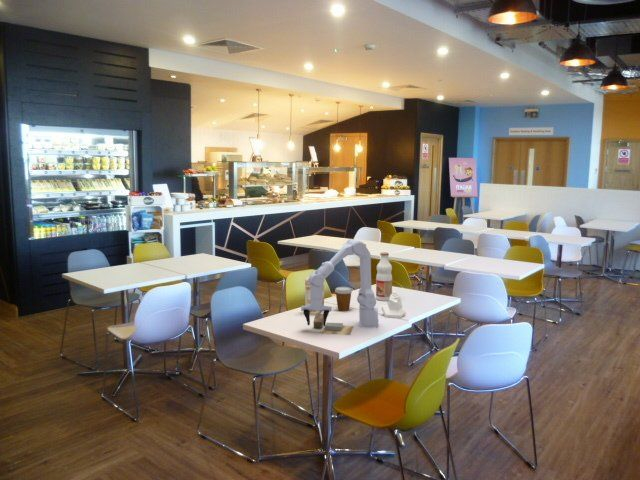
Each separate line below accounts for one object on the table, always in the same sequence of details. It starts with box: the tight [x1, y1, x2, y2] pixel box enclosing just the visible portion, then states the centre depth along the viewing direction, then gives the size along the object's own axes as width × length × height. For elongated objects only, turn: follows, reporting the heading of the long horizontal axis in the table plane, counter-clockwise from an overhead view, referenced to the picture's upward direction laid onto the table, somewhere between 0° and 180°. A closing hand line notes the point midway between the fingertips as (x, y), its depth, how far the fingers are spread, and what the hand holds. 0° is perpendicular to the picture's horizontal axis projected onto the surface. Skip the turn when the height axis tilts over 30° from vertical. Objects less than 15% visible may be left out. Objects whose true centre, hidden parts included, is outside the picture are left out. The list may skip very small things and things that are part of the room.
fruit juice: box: [375, 252, 393, 302], centre depth 316 cm, size 9×9×28 cm
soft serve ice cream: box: [381, 290, 407, 319], centre depth 284 cm, size 12×15×14 cm
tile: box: [324, 322, 344, 331], centre depth 260 cm, size 8×2×6 cm
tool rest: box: [310, 328, 323, 333], centre depth 258 cm, size 5×5×1 cm
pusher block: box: [313, 313, 324, 329], centre depth 264 cm, size 4×4×7 cm
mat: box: [320, 325, 355, 336], centre depth 259 cm, size 14×14×1 cm
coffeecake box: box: [304, 275, 325, 316], centre depth 291 cm, size 15×7×20 cm, turn 164°
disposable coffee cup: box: [334, 286, 353, 312], centre depth 295 cm, size 10×10×12 cm
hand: (316, 325), depth 258 cm, fingers open, 7 cm apart
